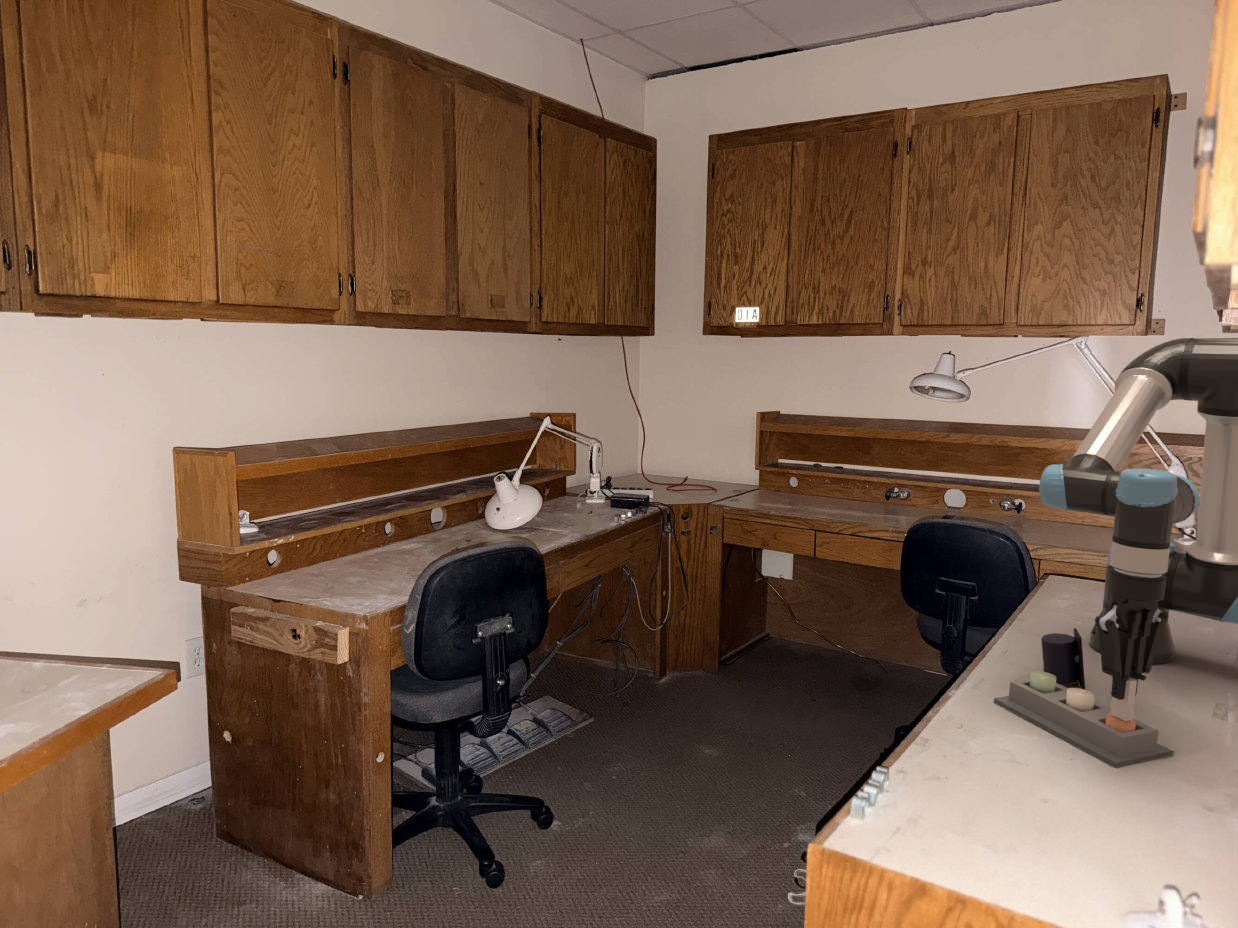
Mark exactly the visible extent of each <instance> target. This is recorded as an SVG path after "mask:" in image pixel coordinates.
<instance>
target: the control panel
mask: <svg viewBox="0 0 1238 928" xmlns="http://www.w3.org/2000/svg"><path fill="white" fill-rule="evenodd" d="M1029 686H1030V678H1025V679H1017V680H1011V681H1010V682H1009V691H1008V695H1005V696H1000V697H994V698H993V703H994V704H996V705H997V706H1000V707H1001V708H1003V709H1005V710H1007V711H1008V712H1011V713H1013V714H1014V715H1016V716H1017V717H1018V716H1019V717H1020V718H1022V719H1024V720H1026V721H1027V722H1029V723H1031V724H1033V725H1035V726H1037V727H1039V728H1040V729H1042V730H1044V731H1046V732H1048V733H1050V734H1052V735H1054V736H1055V737H1057V738H1059V739H1061V740H1062V741H1065V742H1066V743H1067V744H1070V745H1072V746H1074V747H1076V748H1077V749H1079V750H1081V751H1083V752H1084V753H1087V754H1088V755H1090V756H1092V757H1094V758H1096V759H1097V760H1100V761H1102V762H1104V763H1106V764H1107V765H1110V766H1111V767H1113V768H1115V769H1118V768H1121V767H1125V766H1130V765H1134V764H1140V763H1143V762H1148V761H1149V762H1150V761H1153V760H1158V759H1162V758H1167V757H1170V756H1171V757H1172V756H1173V752H1174V750H1172V749H1170V748H1168V747H1166V746H1164V745H1162V744H1160V743H1159V742H1158V738H1159V737H1158V736H1159V730H1158V729H1156V728H1153V727H1152V726H1150V725H1148V724H1146V723H1143V722H1141V721H1139V720H1136V719H1135V720H1136V726H1135V730H1134V731H1129V732H1124V733H1123V732H1120V731H1118V730H1116V729H1114V728H1112V727H1110V726H1108V725H1106V724H1105V723H1106V715H1107V714H1108V713H1110V710H1111V707H1109V706H1107V705H1105V704H1102V703H1100V702H1098V701H1097V700H1094V706H1093V710H1090V711H1085V712H1080V711H1078V710H1076V709H1073V708H1071V707H1069V706H1067V705H1066V695H1067V689H1069V687H1066V686H1065V685H1060V684H1058V683H1056V688H1055V692H1050V693H1044V694H1043V693H1041V692H1039V691H1037V690H1035V689H1033V688H1031V687H1029Z"/></svg>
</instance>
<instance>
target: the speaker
mask: <svg viewBox="0 0 1238 928" xmlns="http://www.w3.org/2000/svg"><path fill="white" fill-rule="evenodd" d="M1040 640H1041V652H1042V663H1043V664H1042V665H1043V672H1047V673H1050V674H1053V675H1055V676H1056V683H1058V684H1060V685H1062V686H1067V685H1069V686H1070V685H1073V684H1076V683H1078V685H1079V687H1080V689H1084V690H1086V684H1085V681H1086V680H1085V671H1084V670H1085V667H1084V655H1083V654H1084V653H1083V640H1082V636H1081V635H1080V633H1079V630H1078V629H1077V628H1075V627H1073V635H1070V634H1067V633H1056V632H1055V633H1054V632H1053V633H1048V634H1044V635H1042V637H1041V638H1040Z"/></svg>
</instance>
